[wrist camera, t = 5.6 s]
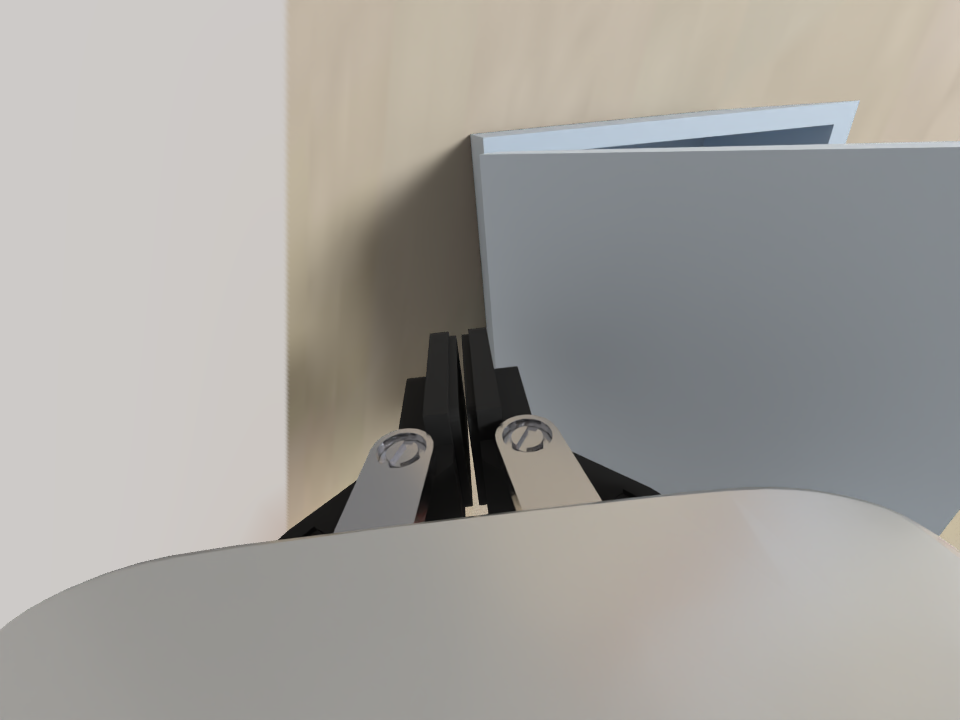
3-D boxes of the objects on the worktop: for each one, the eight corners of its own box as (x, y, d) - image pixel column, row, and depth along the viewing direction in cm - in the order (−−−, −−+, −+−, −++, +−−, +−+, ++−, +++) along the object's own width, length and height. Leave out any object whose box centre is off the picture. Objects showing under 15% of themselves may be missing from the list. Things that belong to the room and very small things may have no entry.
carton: (714, 110, 20) (859, 100, 13) (674, 330, 26) (758, 404, 19) (470, 134, 19) (482, 138, 12) (488, 350, 25) (504, 433, 19)
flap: (1227, 135, 4) (1243, 142, 4) (838, 654, 10) (828, 679, 9) (499, 151, 12) (479, 154, 12) (514, 432, 18) (501, 440, 18)
